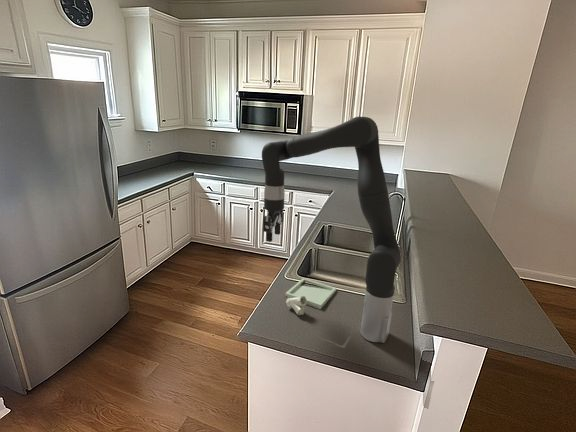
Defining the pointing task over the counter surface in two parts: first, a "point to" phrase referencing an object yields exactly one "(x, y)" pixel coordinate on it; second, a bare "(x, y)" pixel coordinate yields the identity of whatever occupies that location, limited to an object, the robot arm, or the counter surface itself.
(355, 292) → the counter surface
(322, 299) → the tray
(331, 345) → the counter surface
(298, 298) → the pipe fitting
